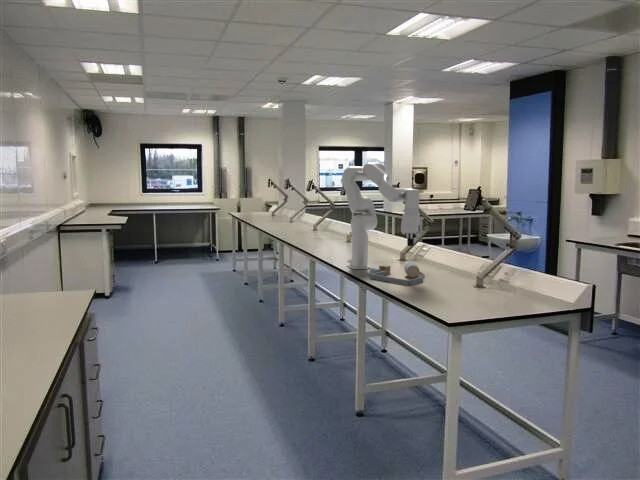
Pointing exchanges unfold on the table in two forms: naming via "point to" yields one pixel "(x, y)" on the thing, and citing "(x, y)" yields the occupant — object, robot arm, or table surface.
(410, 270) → the ceramic mug
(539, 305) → the table surface
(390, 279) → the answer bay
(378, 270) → the slate block
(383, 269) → the walnut block
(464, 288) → the table surface
